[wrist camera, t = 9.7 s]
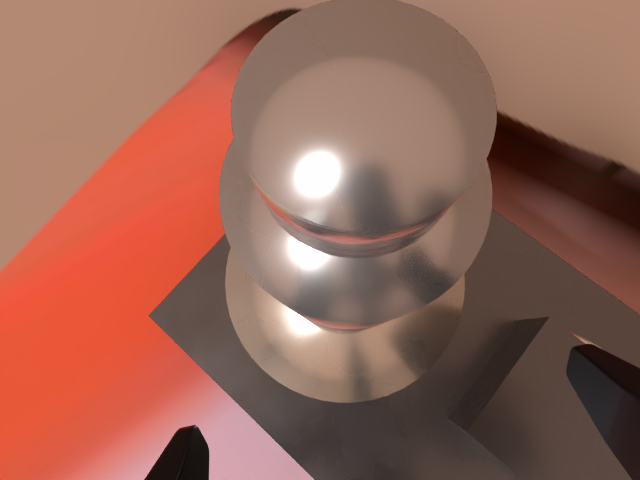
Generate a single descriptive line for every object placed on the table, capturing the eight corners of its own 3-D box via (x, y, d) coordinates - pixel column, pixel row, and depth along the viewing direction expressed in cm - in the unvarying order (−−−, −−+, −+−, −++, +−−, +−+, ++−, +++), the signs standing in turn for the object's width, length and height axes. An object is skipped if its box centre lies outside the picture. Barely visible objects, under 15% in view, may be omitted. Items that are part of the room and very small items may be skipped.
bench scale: (640, 350, 20) (752, 354, 15) (471, 608, 18) (531, 726, 12) (345, 132, 24) (347, 72, 19) (173, 319, 22) (119, 312, 16)
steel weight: (418, 302, 17) (668, 186, 4) (319, 354, 17) (257, 399, 4) (366, 208, 19) (435, -107, 5) (272, 254, 18) (105, 35, 5)
